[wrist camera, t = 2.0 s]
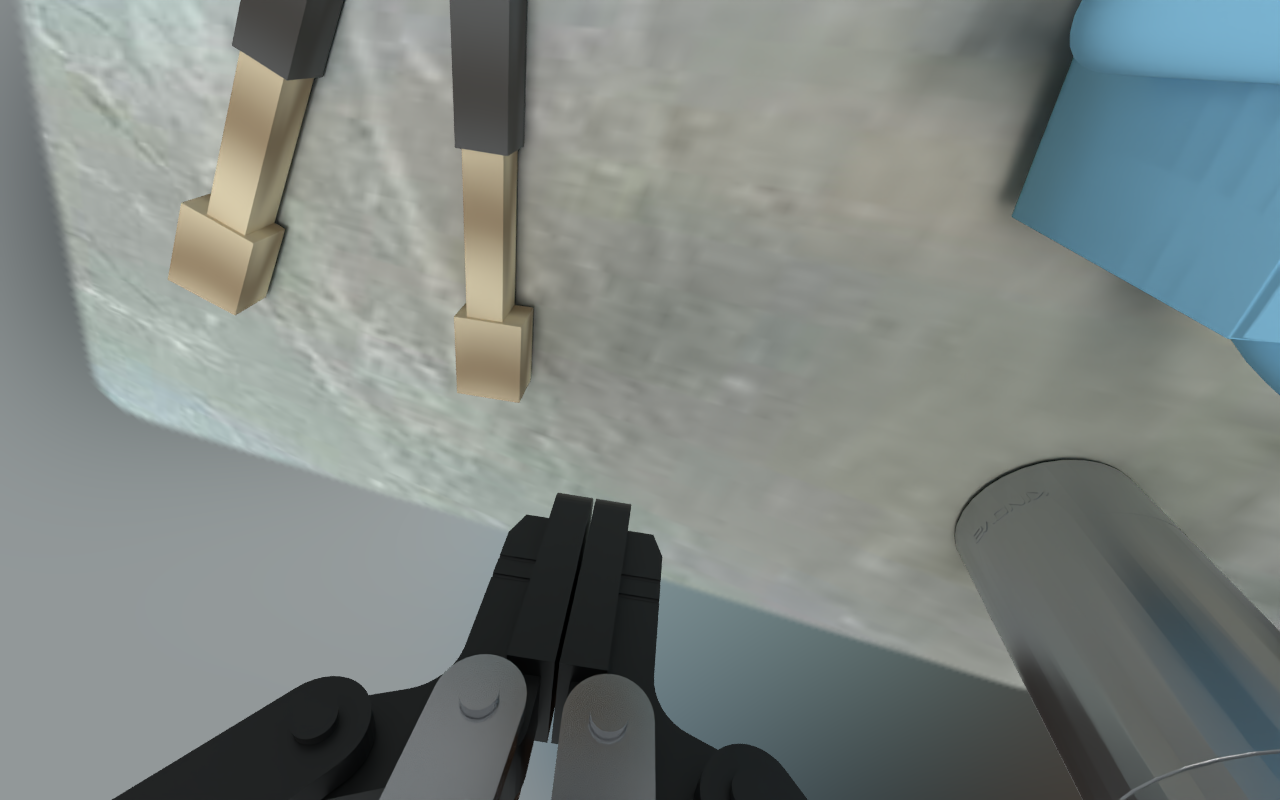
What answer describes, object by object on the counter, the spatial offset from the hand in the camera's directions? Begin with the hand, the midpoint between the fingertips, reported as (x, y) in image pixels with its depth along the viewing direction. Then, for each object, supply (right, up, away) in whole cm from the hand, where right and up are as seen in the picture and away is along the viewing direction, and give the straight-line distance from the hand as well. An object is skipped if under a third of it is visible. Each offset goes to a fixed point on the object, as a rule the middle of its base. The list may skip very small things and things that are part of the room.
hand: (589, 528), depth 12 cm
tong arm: (-5, +11, +13) cm, 18 cm away
